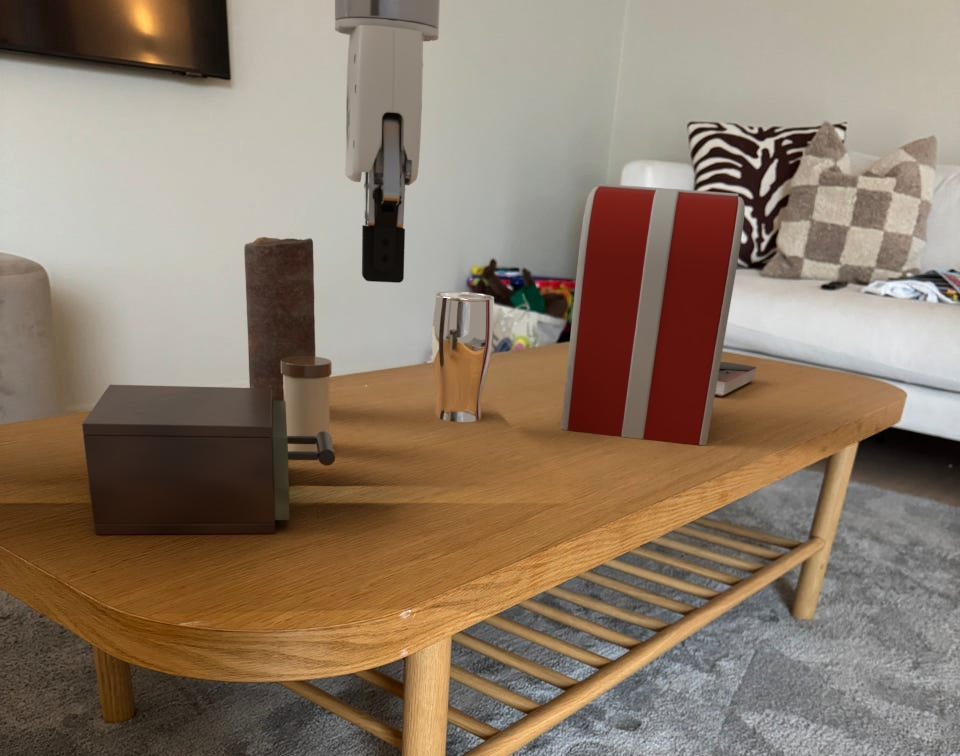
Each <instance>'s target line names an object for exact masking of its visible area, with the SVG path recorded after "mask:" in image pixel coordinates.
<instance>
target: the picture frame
mask: <svg viewBox="0 0 960 756" xmlns="http://www.w3.org/2000/svg"><path fill="white" fill-rule="evenodd" d="M756 368H757V366H753V365H748V364H741V363H733V362H727V361H721V362H720V368H719V374H718V380H717V386H716V392H715V397H716V396H717V397H721V398H722V397H724V396H725V395H727V394H729V393H732V392H733V391H736V390H738V389H739V388H742V387H743V386H746V385H747V384H750V383H751V382H752V381H754V380H755V375H756V370H757V369H756Z"/></svg>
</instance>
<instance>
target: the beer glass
mask: <svg viewBox="0 0 960 756" xmlns="http://www.w3.org/2000/svg"><path fill="white" fill-rule="evenodd" d="M434 295H435V296H434V297H435V298H434V306H433V314H432V321H431V322H432V323H431V355H432V356H431V357H432V363H433V364H432V365H433V372H434V380H435V389H436V395H435V396H436V400H435V408H434V413H433V416H434V417H435V418H436V419H439V420H442V421H447V422H454V423H472V422H479V421H481V420H483V415H482V401H483V394H484V393H483V392H484V388H485V384H486V379H487V376H488V371H489V367H490V364H491V358H492V352H493V348H494V347H493V345H494V335H495V333H494V332H495V297H494V296H493V295H489V294H485V293H479V292H470V291H439V292H436V293H435V294H434Z"/></svg>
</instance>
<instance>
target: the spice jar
mask: <svg viewBox="0 0 960 756" xmlns="http://www.w3.org/2000/svg"><path fill="white" fill-rule="evenodd" d="M332 362H333V361H332V360H330V359H328V358H326V357H321V356H315V357H313V356H290V357H285V358H282V359H281V373H282V374H283V391H284V401H286V420H287V436H315V437H316V435H317V434H318V433H319V432H322V431H325V432H328V433H329V434H330V435H331V410H330V409H331V407H330V406H331V404H330V403H331V400H330V394H331V392H330V390H331V389H330V388H331V387H330V386H331V385H330V383H331V382H330V381H331V380H330V379H331V378H330V376H331V375H332V374H333V373H332V369H333V367H332V366H333V365H332V364H333V363H332ZM288 451H307V452H317V446H316V444H288Z"/></svg>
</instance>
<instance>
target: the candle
mask: <svg viewBox="0 0 960 756" xmlns="http://www.w3.org/2000/svg"><path fill="white" fill-rule="evenodd" d="M243 248H244V250H243V251H244V252H243V253H244V254H243V255H244V273H245V275H244V276H245V298H246V301H245V302H246V318H247V319H246V323H247V325H246V326H247V347H248V349H247V351H248V377H249V378H248V381H249V388H271V389H272V401H284V391H283V374H282V373H281V359H282V358H285V357H290V356H313V357H316V328H315V327H316V320H315V319H316V317H315V277H314V276H315V263H314V240H313V239H312V238H304V239H301V238H299V239H297V238H282V239H281V238H277V237H265V236H261V237H257V238H256V239H255V240H254V241H252V242H249V243H245V245H244V247H243Z"/></svg>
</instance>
